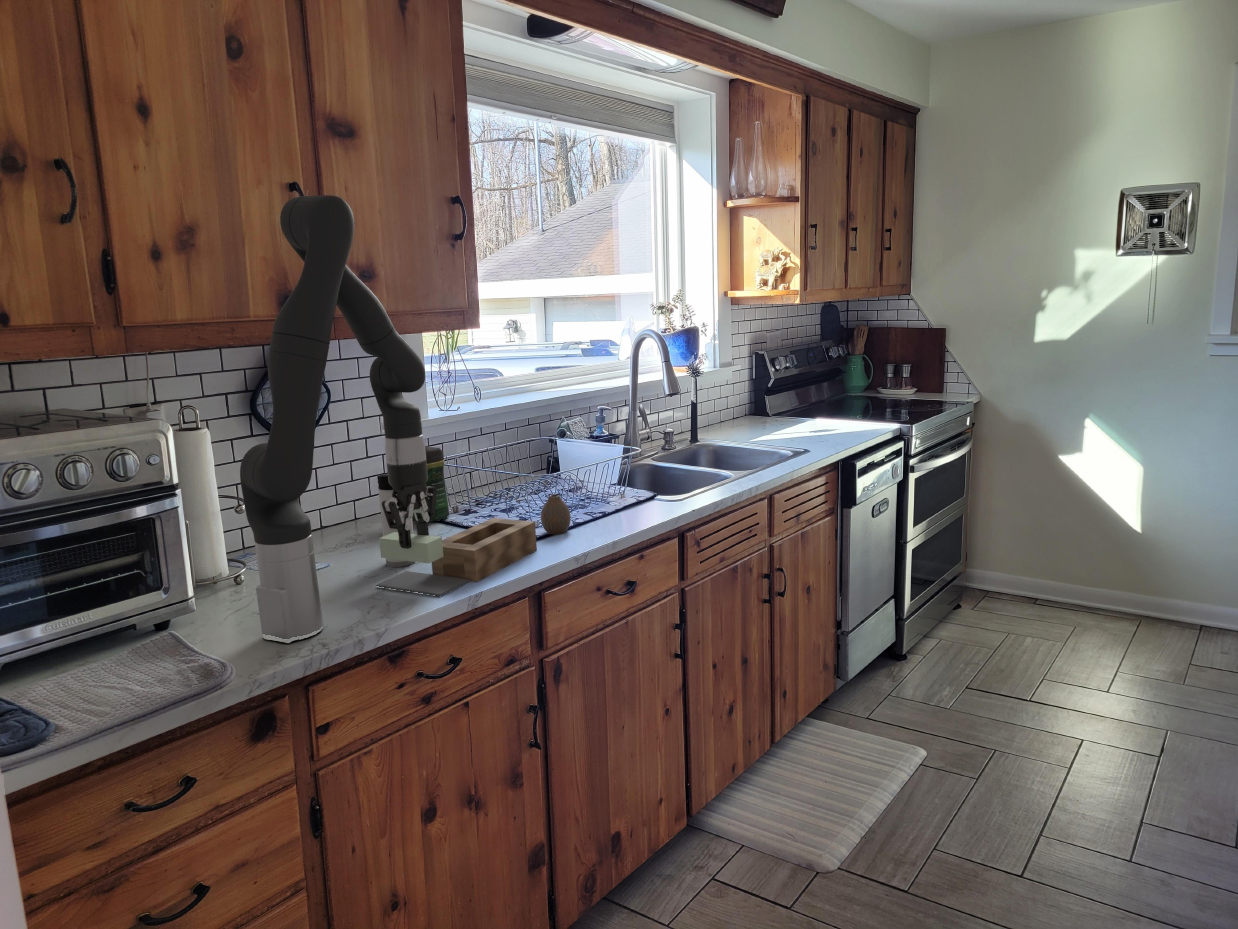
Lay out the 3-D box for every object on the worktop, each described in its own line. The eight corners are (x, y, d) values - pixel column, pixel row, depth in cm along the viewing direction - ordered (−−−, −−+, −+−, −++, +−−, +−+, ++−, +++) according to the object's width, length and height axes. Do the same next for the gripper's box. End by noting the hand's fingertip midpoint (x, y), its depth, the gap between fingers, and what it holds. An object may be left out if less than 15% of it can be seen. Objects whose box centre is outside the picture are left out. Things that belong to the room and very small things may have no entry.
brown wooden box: (476, 582, 181) (474, 550, 180) (432, 576, 186) (429, 545, 185) (537, 550, 200) (534, 521, 199) (495, 545, 205) (493, 517, 204)
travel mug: (386, 569, 193) (376, 476, 188) (386, 560, 199) (376, 470, 195) (417, 565, 194) (408, 473, 190) (415, 556, 200) (406, 467, 196)
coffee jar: (455, 517, 232) (448, 445, 229) (430, 524, 226) (423, 450, 223) (430, 512, 238) (423, 442, 235) (405, 519, 232) (398, 447, 229)
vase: (536, 534, 213) (533, 498, 211) (551, 527, 219) (549, 491, 217) (561, 537, 209) (559, 500, 208) (576, 529, 215) (574, 493, 214)
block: (443, 556, 180) (441, 537, 179) (428, 563, 176) (426, 543, 176) (396, 551, 186) (394, 532, 185) (381, 557, 182) (378, 538, 181)
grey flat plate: (440, 597, 174) (440, 594, 174) (376, 587, 181) (375, 584, 181) (469, 582, 182) (469, 579, 181) (406, 573, 189) (406, 570, 189)
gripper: (396, 467, 169) (405, 556, 172) (445, 452, 181) (452, 536, 185) (365, 465, 172) (375, 553, 176) (415, 451, 185) (423, 532, 188)
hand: (414, 543), depth 180 cm, fingers closed on block, 4 cm apart
